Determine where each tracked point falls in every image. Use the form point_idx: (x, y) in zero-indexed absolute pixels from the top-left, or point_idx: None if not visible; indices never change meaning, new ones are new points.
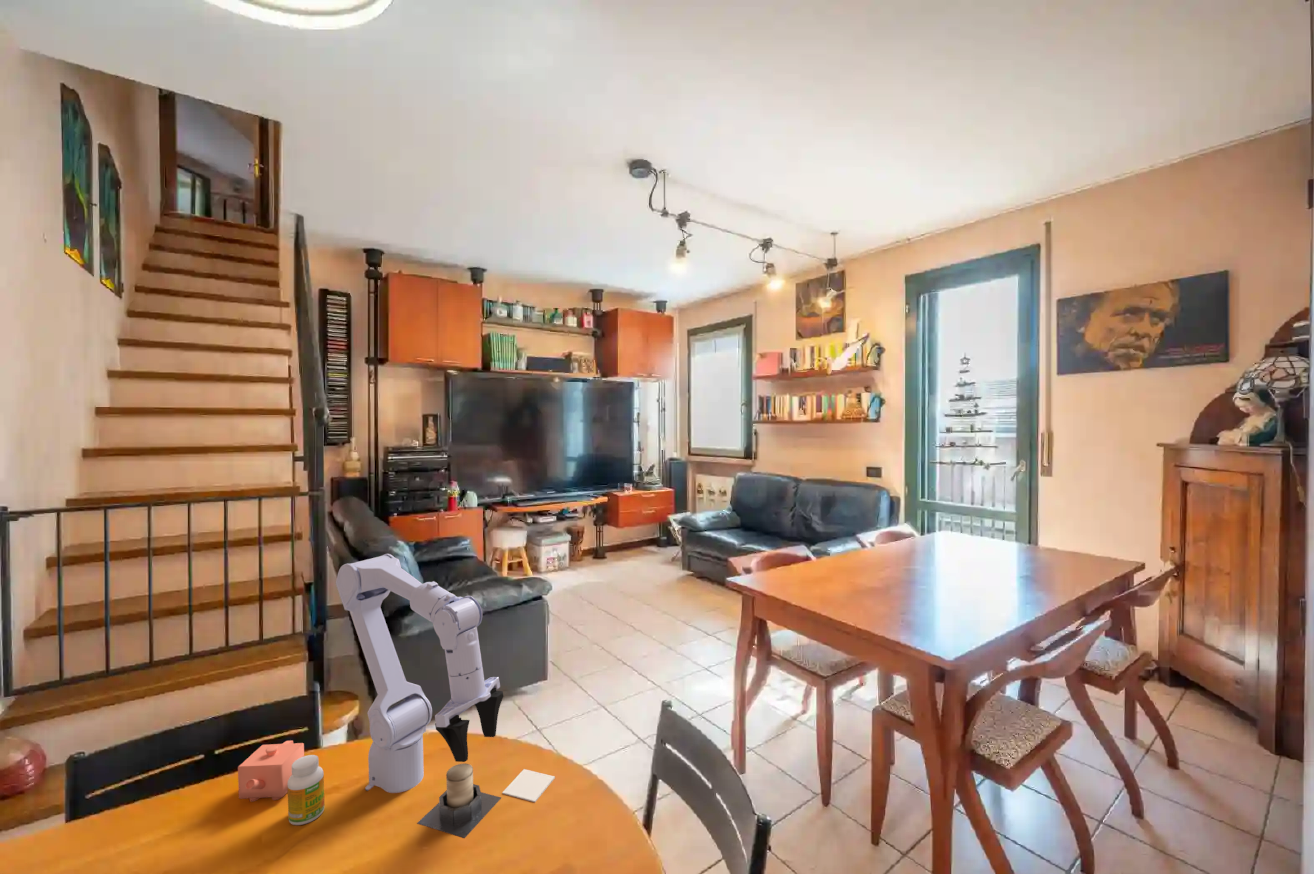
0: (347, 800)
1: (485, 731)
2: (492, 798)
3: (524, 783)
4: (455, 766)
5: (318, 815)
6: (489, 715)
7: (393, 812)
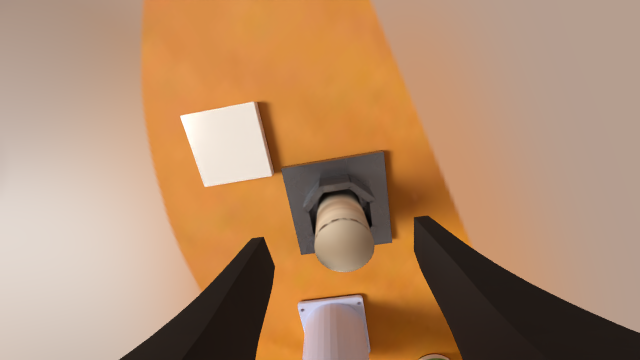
0: (392, 350)
1: (268, 276)
2: (291, 181)
3: (231, 156)
4: (335, 267)
5: (431, 356)
6: (233, 321)
7: (382, 288)
